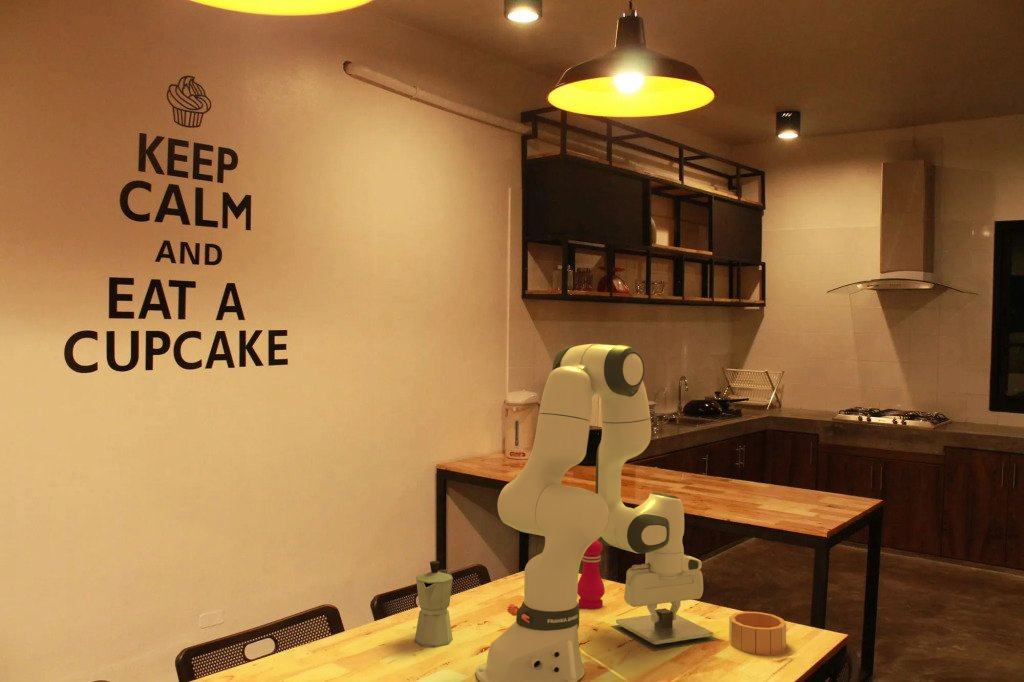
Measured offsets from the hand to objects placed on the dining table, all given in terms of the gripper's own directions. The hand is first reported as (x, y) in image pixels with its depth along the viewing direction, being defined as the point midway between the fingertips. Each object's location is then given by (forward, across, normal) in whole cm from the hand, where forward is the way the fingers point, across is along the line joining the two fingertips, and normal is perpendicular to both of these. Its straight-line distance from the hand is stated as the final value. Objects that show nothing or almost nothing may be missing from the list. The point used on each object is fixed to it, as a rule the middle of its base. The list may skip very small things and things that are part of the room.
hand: (663, 621), depth 196 cm
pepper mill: (+4, -5, +25) cm, 26 cm away
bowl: (+3, +15, -14) cm, 21 cm away
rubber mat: (+3, 0, 0) cm, 3 cm away
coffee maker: (+4, -50, +19) cm, 53 cm away
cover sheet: (+2, 0, 0) cm, 2 cm away
